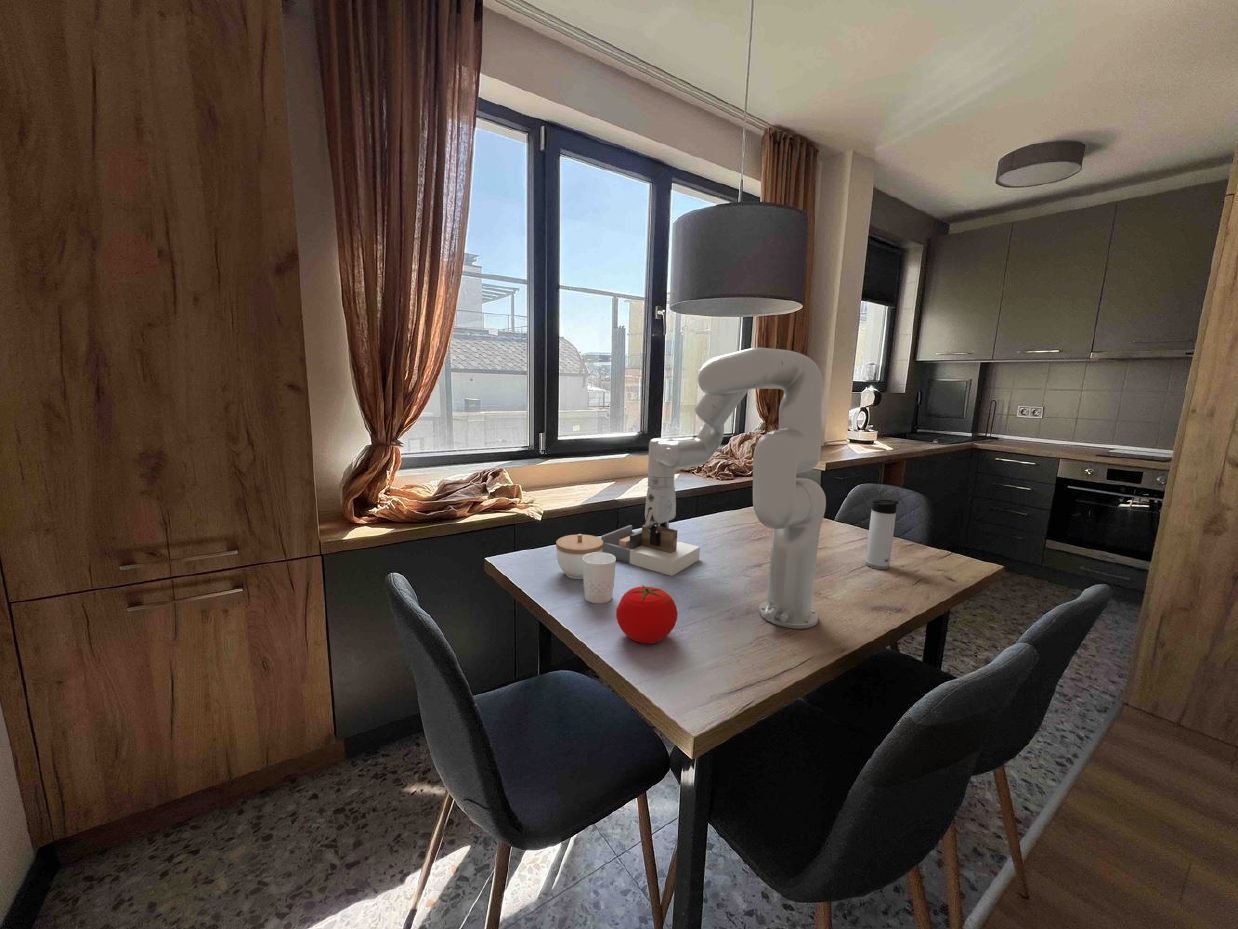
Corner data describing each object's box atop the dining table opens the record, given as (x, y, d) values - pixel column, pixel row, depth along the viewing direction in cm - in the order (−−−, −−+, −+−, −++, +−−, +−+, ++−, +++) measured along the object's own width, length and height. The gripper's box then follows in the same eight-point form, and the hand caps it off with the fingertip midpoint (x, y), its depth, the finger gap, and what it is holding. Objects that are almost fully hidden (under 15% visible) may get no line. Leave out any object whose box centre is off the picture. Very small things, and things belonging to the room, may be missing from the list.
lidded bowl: (556, 584, 123) (556, 543, 121) (555, 566, 135) (555, 528, 133) (605, 582, 125) (606, 541, 123) (599, 564, 137) (600, 527, 135)
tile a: (625, 541, 140) (619, 540, 142) (625, 558, 141) (618, 556, 142) (635, 537, 144) (629, 536, 145) (635, 553, 145) (628, 551, 146)
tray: (629, 563, 138) (630, 543, 137) (600, 555, 145) (601, 535, 144) (657, 550, 150) (658, 531, 149) (629, 542, 157) (630, 525, 156)
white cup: (607, 607, 111) (608, 566, 109) (576, 601, 114) (577, 560, 112) (619, 593, 118) (620, 555, 117) (589, 588, 121) (590, 550, 119)
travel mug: (892, 571, 138) (901, 503, 135) (866, 568, 140) (874, 501, 137) (888, 564, 144) (896, 498, 141) (863, 561, 146) (871, 496, 143)
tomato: (606, 633, 100) (607, 584, 98) (652, 617, 107) (653, 572, 105) (639, 658, 91) (641, 606, 89) (687, 640, 98) (689, 591, 96)
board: (671, 575, 130) (672, 561, 130) (629, 563, 138) (630, 550, 138) (699, 559, 143) (699, 546, 142) (658, 549, 151) (659, 537, 151)
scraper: (662, 557, 133) (663, 536, 132) (629, 548, 139) (630, 528, 138) (683, 546, 142) (685, 527, 141) (651, 538, 149) (652, 519, 148)
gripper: (656, 488, 128) (654, 554, 131) (686, 479, 142) (683, 539, 144) (633, 484, 133) (631, 548, 136) (664, 476, 146) (662, 534, 149)
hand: (658, 543), depth 140 cm, fingers closed on scraper, 3 cm apart
